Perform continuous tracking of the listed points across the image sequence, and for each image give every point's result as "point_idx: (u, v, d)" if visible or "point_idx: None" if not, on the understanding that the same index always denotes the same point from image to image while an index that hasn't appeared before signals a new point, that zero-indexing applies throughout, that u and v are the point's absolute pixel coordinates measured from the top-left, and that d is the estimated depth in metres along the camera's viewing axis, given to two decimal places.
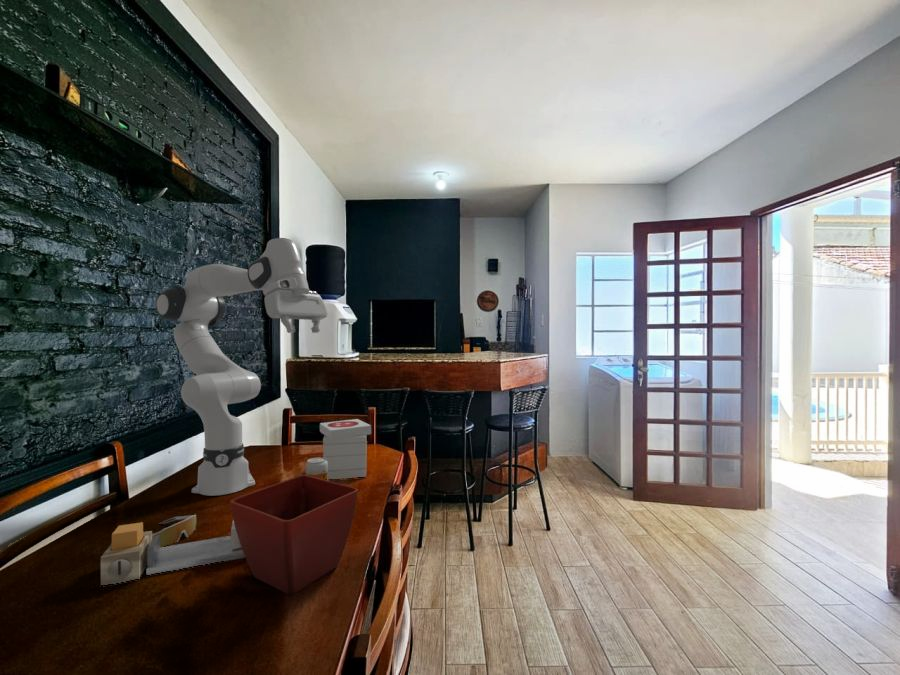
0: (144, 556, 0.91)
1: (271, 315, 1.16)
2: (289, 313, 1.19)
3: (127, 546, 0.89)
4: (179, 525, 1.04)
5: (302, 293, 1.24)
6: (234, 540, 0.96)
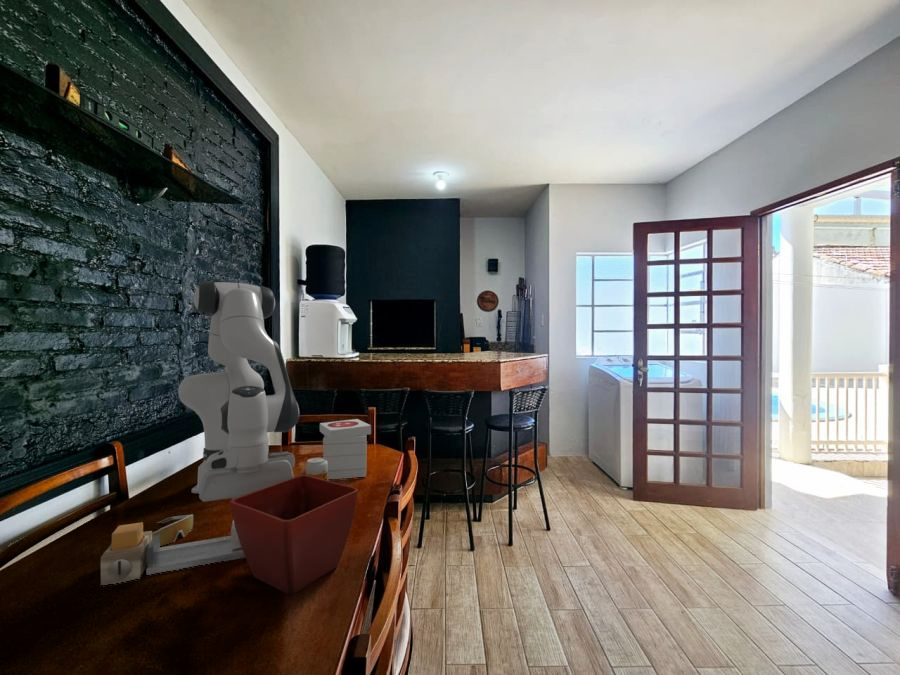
0: (144, 556, 0.91)
1: None
2: (222, 498, 0.97)
3: (127, 546, 0.89)
4: (176, 525, 1.05)
5: (247, 470, 0.97)
6: (234, 540, 0.96)
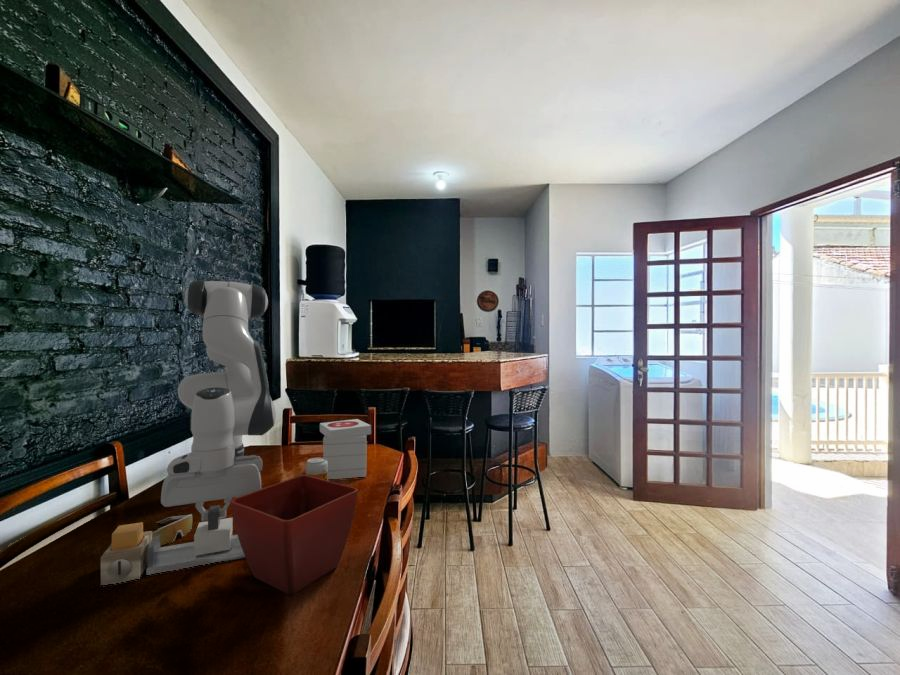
0: (144, 556, 0.91)
1: None
2: (185, 503, 0.94)
3: (127, 546, 0.89)
4: (175, 525, 1.05)
5: (211, 474, 0.95)
6: (197, 546, 0.93)
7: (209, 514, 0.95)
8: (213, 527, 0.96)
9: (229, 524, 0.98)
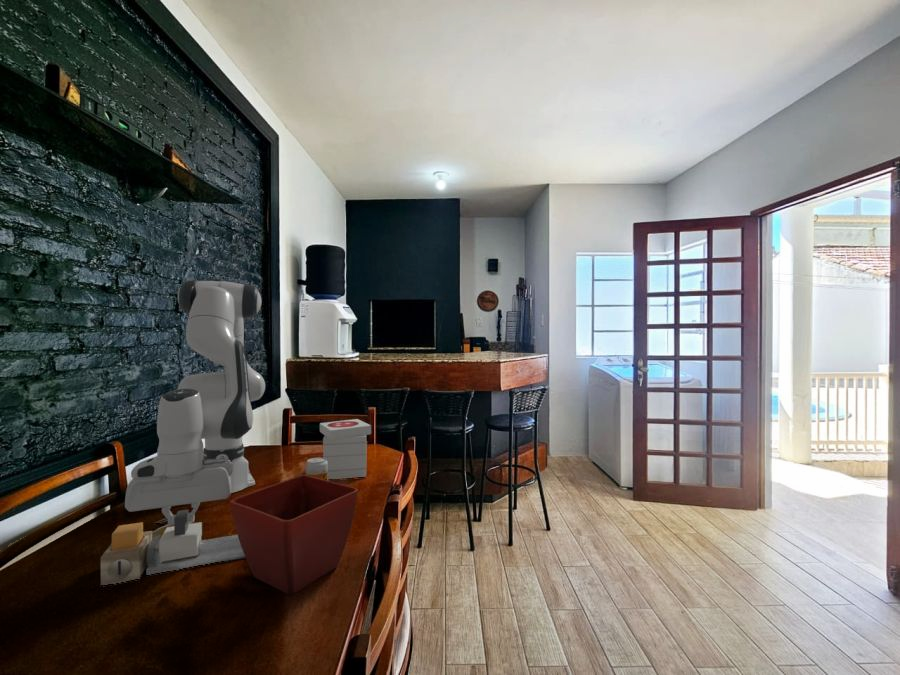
0: (144, 556, 0.91)
1: None
2: (150, 507, 0.91)
3: (127, 546, 0.89)
4: None
5: (177, 478, 0.92)
6: (163, 552, 0.91)
7: (176, 519, 0.93)
8: (180, 533, 0.93)
9: (197, 529, 0.96)
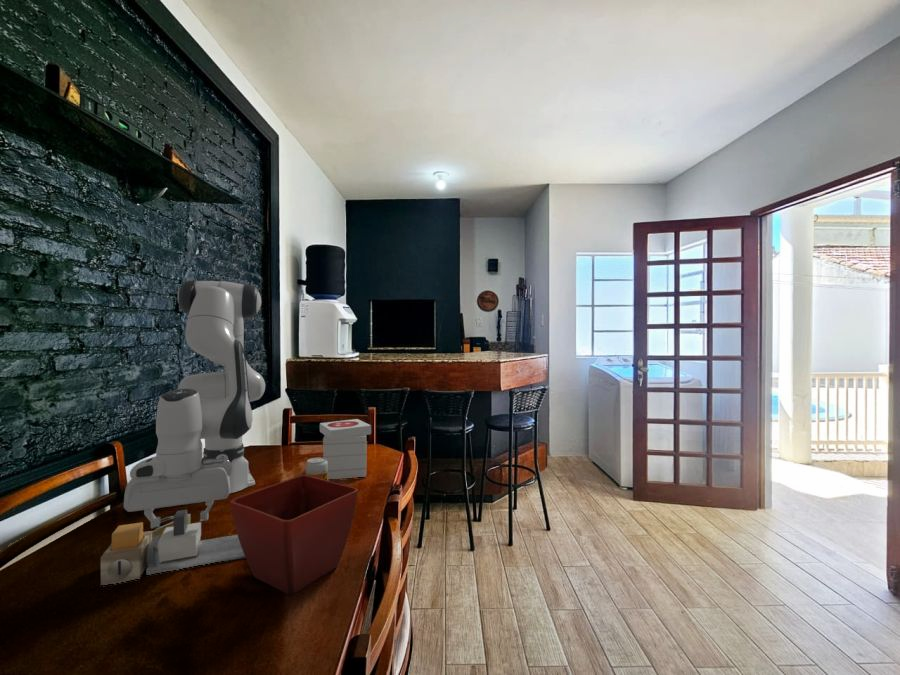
0: (144, 556, 0.91)
1: None
2: (149, 507, 0.91)
3: (127, 546, 0.89)
4: None
5: (176, 478, 0.92)
6: (162, 552, 0.91)
7: (175, 519, 0.93)
8: (179, 533, 0.93)
9: (196, 529, 0.96)
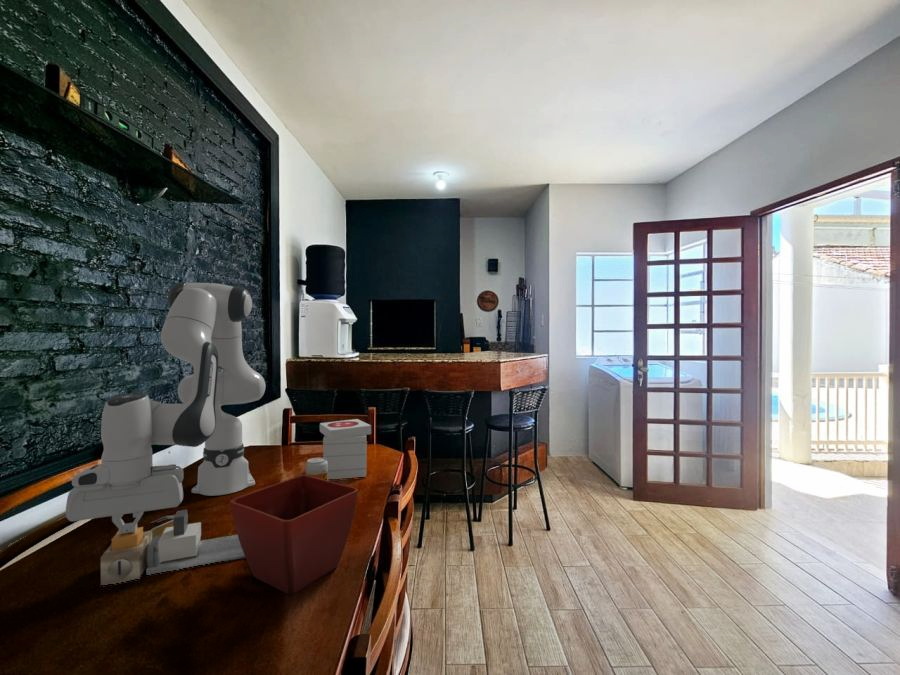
0: (144, 556, 0.91)
1: None
2: (93, 517, 0.87)
3: None
4: (170, 524, 1.05)
5: (122, 486, 0.88)
6: (162, 552, 0.91)
7: (175, 519, 0.93)
8: (179, 533, 0.93)
9: (196, 529, 0.96)
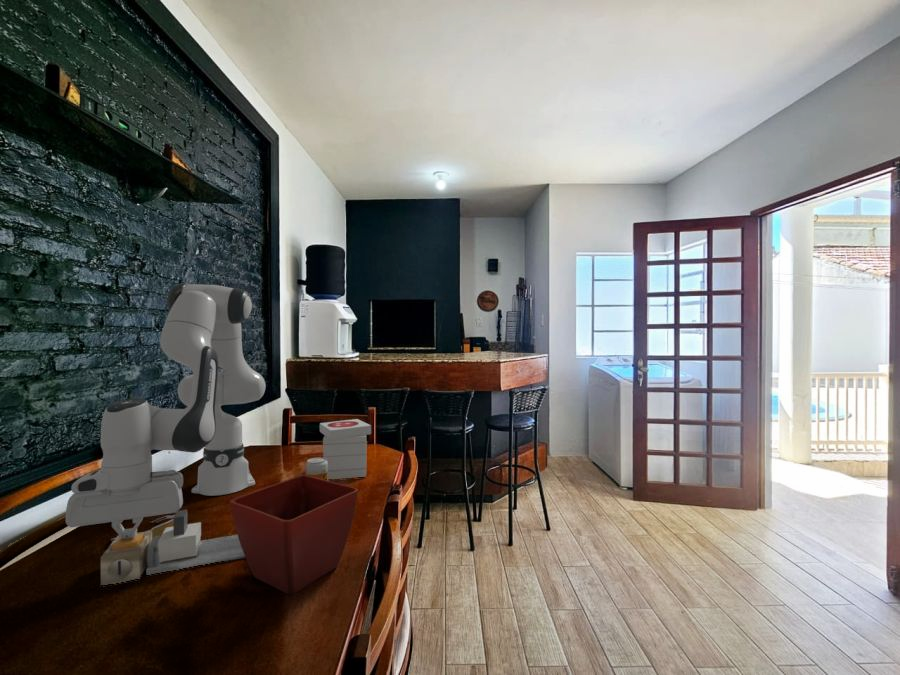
0: (144, 556, 0.91)
1: None
2: (93, 523, 0.88)
3: None
4: (169, 524, 1.05)
5: (122, 492, 0.88)
6: (162, 552, 0.91)
7: (175, 519, 0.93)
8: (179, 533, 0.93)
9: (196, 529, 0.96)
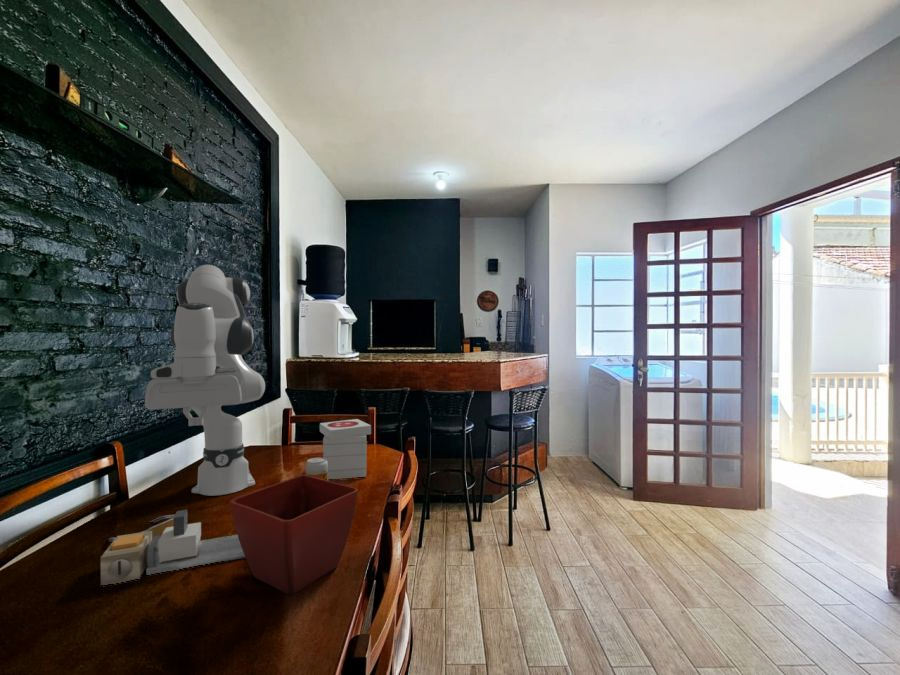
0: (144, 556, 0.91)
1: None
2: (167, 407, 0.99)
3: None
4: (167, 523, 1.05)
5: (193, 381, 1.00)
6: (162, 552, 0.91)
7: (175, 519, 0.93)
8: (179, 533, 0.93)
9: (196, 529, 0.96)
